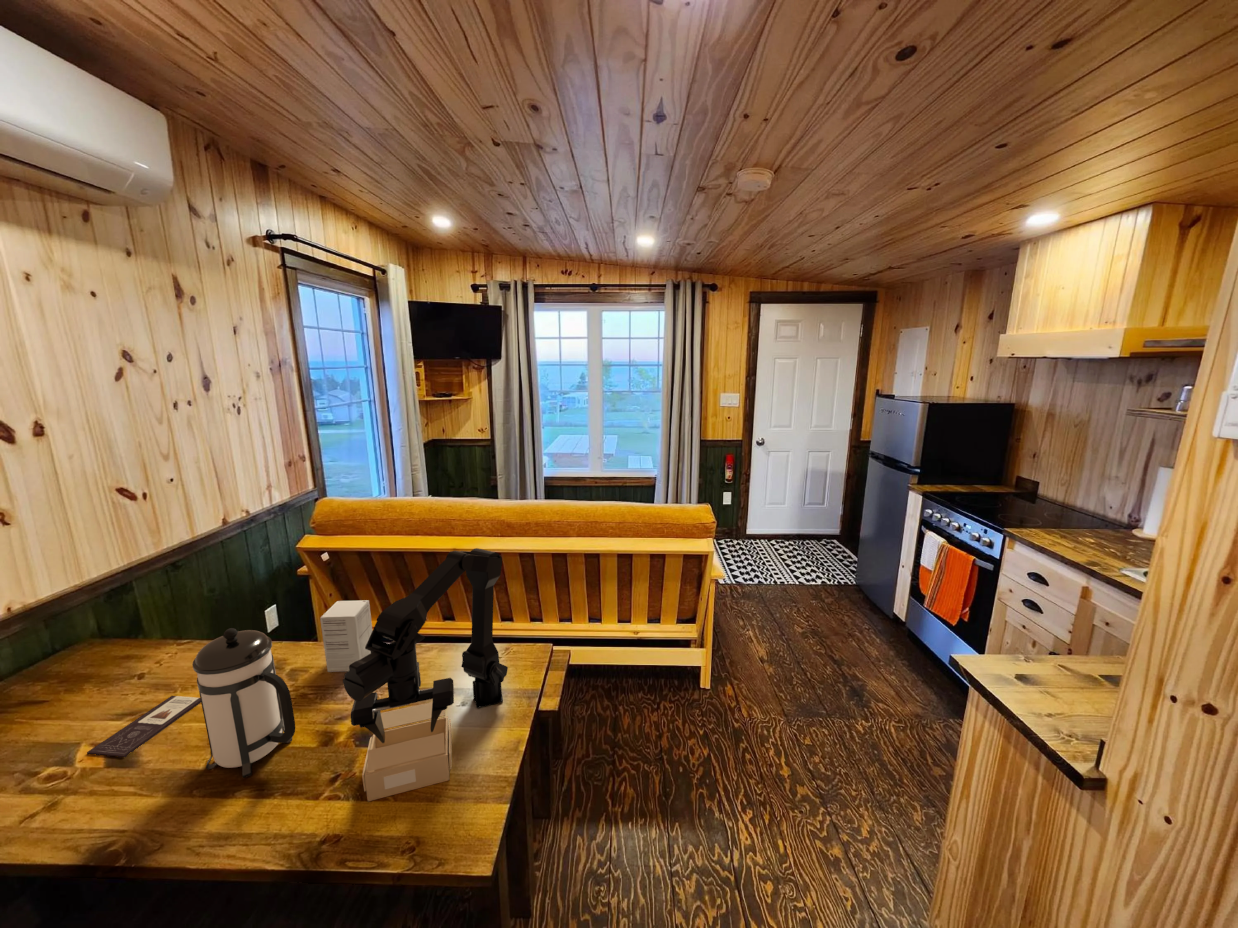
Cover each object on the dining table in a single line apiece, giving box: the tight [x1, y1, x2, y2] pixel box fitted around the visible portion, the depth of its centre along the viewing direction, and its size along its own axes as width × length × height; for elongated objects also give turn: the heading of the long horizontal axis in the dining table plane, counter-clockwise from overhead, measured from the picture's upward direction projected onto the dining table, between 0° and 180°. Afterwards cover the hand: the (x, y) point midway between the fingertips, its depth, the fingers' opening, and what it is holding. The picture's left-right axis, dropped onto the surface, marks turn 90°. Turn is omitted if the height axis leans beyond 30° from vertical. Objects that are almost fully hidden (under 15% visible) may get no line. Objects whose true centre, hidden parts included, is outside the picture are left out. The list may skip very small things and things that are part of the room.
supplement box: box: [319, 599, 373, 673], centre depth 133 cm, size 10×9×17 cm
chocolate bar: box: [86, 695, 201, 758], centre depth 110 cm, size 9×1×18 cm
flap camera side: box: [367, 733, 445, 771], centre depth 93 cm, size 14×4×1 cm
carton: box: [361, 715, 453, 802], centre depth 98 cm, size 16×12×6 cm
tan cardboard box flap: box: [380, 701, 446, 730], centre depth 104 cm, size 14×4×1 cm, turn 109°
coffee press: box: [192, 627, 296, 779], centre depth 99 cm, size 17×16×30 cm
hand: (408, 735), depth 97 cm, fingers open, 9 cm apart
